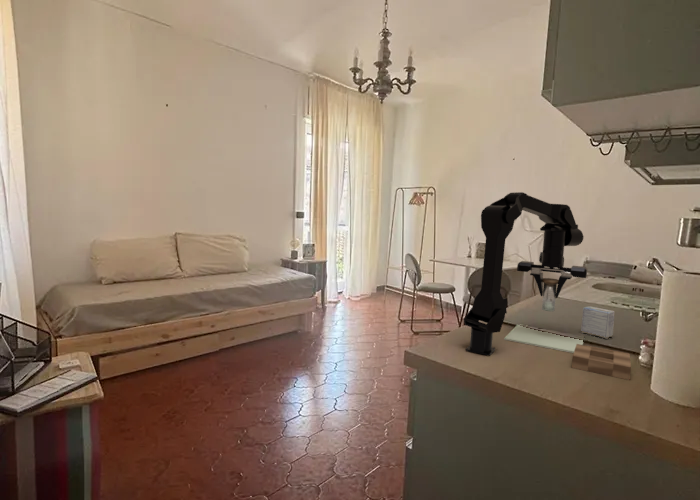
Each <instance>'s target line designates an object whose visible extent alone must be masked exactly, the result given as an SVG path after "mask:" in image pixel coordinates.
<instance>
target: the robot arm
mask: <svg viewBox="0 0 700 500" xmlns="http://www.w3.org/2000/svg"><path fill="white" fill-rule="evenodd" d="M523 211H524V212H527V213H529V214H532V215H535V216H537V217H538V219H539V220H540V221H541V222H542V223H544V225H542V226H541V227H540V228H539V230H540V231H541V232H542V231H543V232H544V233H543V242H542V251H540V253H539V258H538V261H539V263H540V264H535V263H534V261H526V260H525V261H524V260H522V261H519V262H518V263H517V267H516V271H517V272H523V273H525V272H526V273H528V272H530V273H529V276H533V278H534V280H535V282H536V285H537V288H538V291H539V294H540V297H543V289H544V283H543V282H542V278H544V272H545V273H546V272H547V273H558V274H560V275H559V278H558V280H559V282H558V284H557V287H556V299H558V298H559V295H560V293H561V291H562V289H563V287H564V285H565V283H566V282H567V280H571V279H572V278H579V279H586V278H587V277H588V268H587V267H586V266H581V265H572V266H571V267H566V266H565V267H564V265H565V257H564V254H565V253H564V252H565V247H575V246H579V245H580V244H581V243H583V241H584V237H585V236H584V235H583V232H582V230H581V229H579V224H577V223H576V220H575V217H574V215H573V211H572V210H571V207H570V206H569V205H568V204H562V203H561V204H560V203H549V202H547V201H545V200H542V199H540V198H539V199H538V198H536V197H533V196H531V195H528V194H527V193H525V192H522V191H521V192H515V191H514V192H509V193H507V194H506V195H505V196H504V197H502V198H499V199H498V200H496V201H494V202H492V203H491V204H489V205H487V206H485V207H484V208H483V209H482V210H481V215H480V221H481V222H480V226H481V230H482V232H483V234H484V237H485V246H484V256H483V265H482V266H483V267H482V274H481V275H482V276H481V285H480V287H481V288H480V290H479V292H478V293H477V294H476V295H475V297H474V298H473V304H472V307H471V308H470V310H469V311H468V313H467V314H466V315H465V317H463V323H464V326H467V327H469V328H470V337H469V338H470V341H469V345H468V346H467V347H466V348H465V351H466V352H470V353H475V354H478V355H484V356H489V357H490V356H491V355H492V354H493V352H495V350H496V347H493V338H494V337H493V335H494V334H495V333H500V332H501V330H502V327H503V324H504V320H505V317H506V314H507V313H508V311H507V308H508V307H507V306H508V298H507V297H506V298H505V297H503V295H502V293H501V288H502V287H501V285H502V278H503V277H502V275H503V265H504V256H505V255H504V254H505V246H506V245H505V244H506V240H507V238H508V236H509V235H510V234H511V232H512V231H513V229H514V224H515V221H516V220H517V219H518V218H519V217H520V216H522V213H523Z"/></svg>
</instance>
